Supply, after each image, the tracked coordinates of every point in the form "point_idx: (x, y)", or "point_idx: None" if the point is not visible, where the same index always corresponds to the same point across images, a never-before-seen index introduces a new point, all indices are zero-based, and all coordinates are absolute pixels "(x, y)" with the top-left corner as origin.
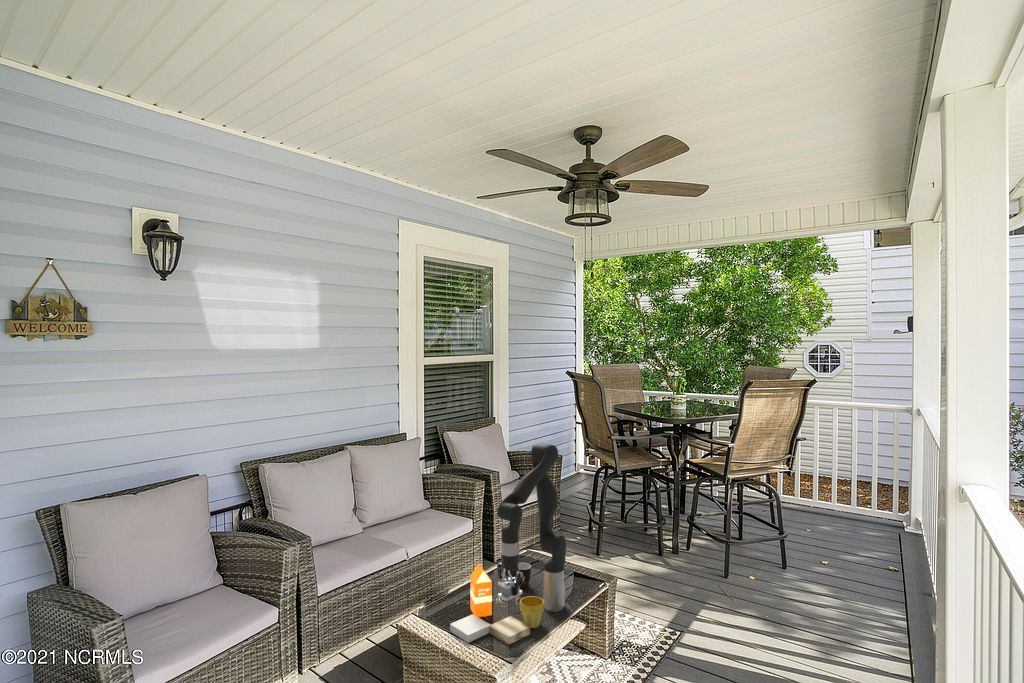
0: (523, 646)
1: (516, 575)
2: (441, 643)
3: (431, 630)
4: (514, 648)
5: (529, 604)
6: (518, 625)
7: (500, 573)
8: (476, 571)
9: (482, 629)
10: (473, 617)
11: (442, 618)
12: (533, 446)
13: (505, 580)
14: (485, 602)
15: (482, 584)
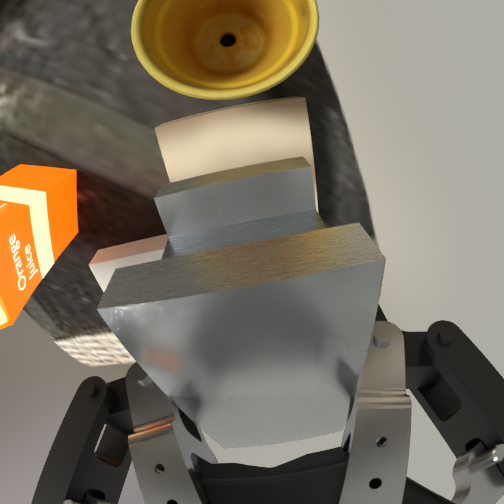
0: (352, 176)
1: (390, 459)
2: None
3: (123, 347)
4: (341, 210)
5: (166, 14)
6: (261, 139)
7: (125, 465)
8: None
9: None
10: (111, 272)
11: (69, 308)
12: None
13: (224, 424)
14: (48, 220)
15: (4, 289)
